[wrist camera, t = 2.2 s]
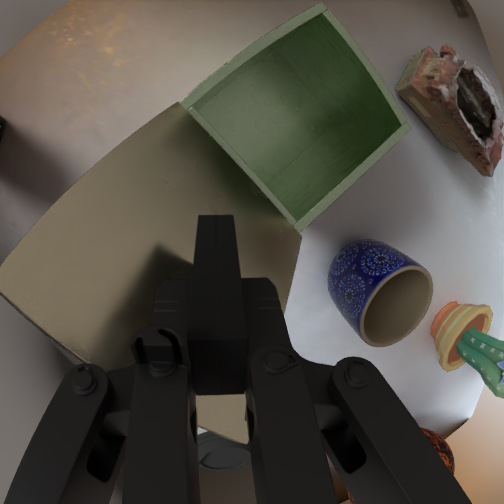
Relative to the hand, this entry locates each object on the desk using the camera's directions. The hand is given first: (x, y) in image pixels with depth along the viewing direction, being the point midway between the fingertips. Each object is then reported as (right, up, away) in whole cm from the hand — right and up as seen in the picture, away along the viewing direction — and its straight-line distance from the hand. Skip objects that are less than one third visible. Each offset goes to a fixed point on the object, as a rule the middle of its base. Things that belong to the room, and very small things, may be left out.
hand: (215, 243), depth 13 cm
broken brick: (+30, +21, +21) cm, 42 cm away
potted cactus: (+42, -14, +38) cm, 58 cm away
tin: (+3, +14, +17) cm, 23 cm away
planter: (+16, -3, +27) cm, 32 cm away
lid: (-1, 0, +1) cm, 1 cm away
